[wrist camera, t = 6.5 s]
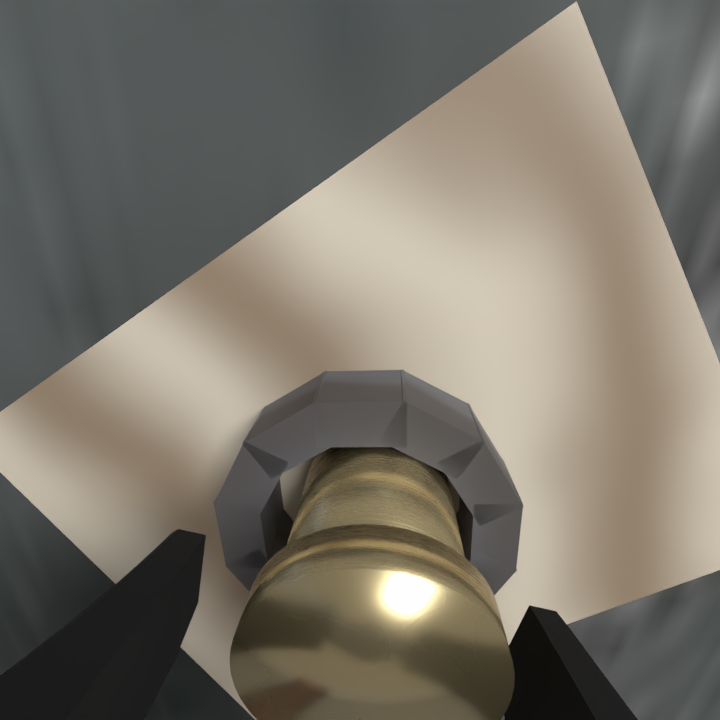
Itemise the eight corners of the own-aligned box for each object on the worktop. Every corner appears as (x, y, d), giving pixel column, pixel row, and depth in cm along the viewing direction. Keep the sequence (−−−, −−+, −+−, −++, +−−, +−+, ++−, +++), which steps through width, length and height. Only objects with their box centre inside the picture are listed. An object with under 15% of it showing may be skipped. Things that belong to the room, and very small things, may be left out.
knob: (353, 555, 14) (330, 792, 8) (268, 446, 13) (172, 636, 7) (487, 496, 13) (562, 723, 7) (407, 369, 12) (423, 524, 6)
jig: (275, 691, 19) (252, 793, 16) (4, 415, 15) (-105, 475, 11) (751, 510, 14) (860, 603, 11) (550, 29, 10) (629, -55, 7)
